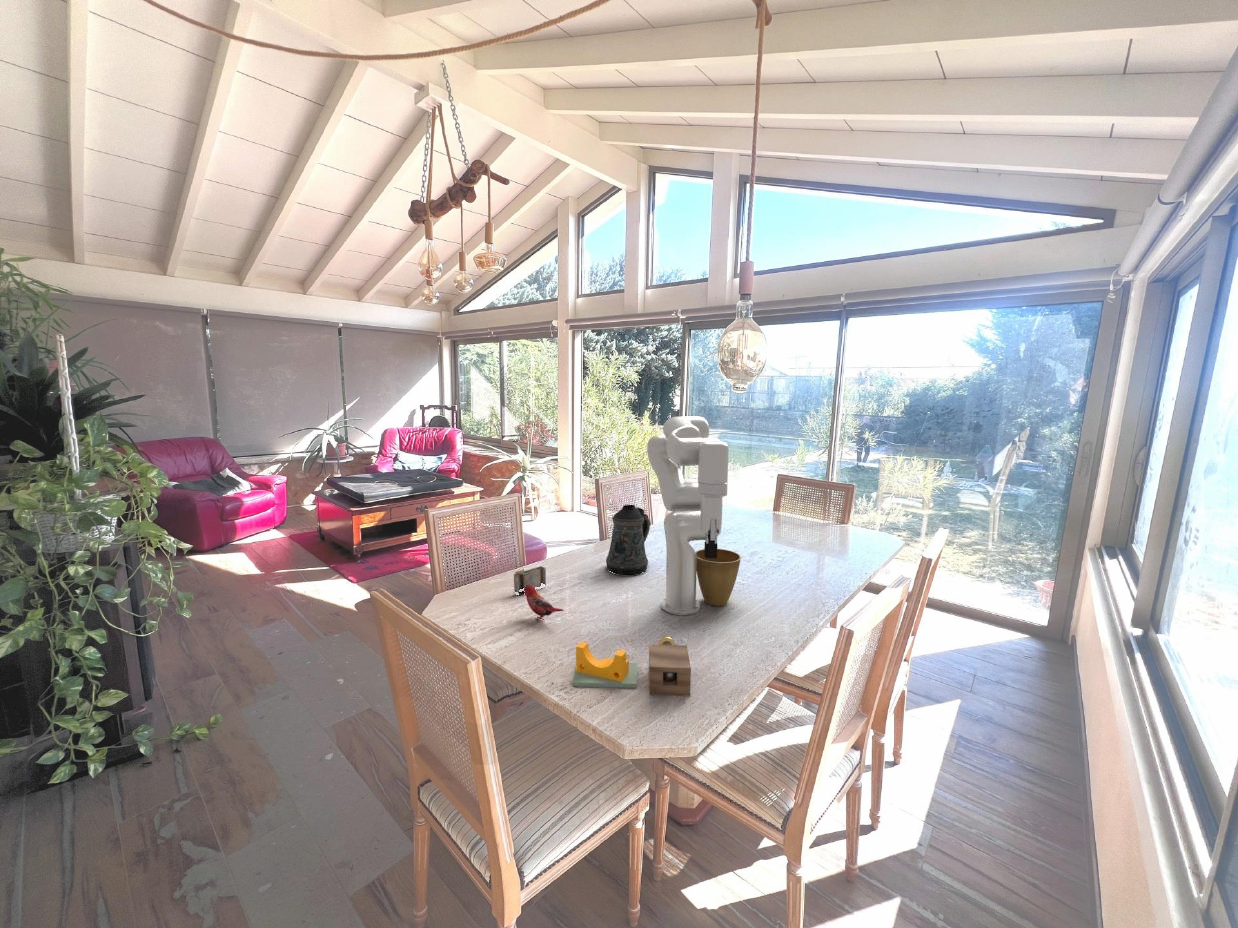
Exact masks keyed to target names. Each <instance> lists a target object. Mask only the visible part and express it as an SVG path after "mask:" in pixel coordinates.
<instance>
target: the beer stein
mask: <svg viewBox="0 0 1238 928" xmlns="http://www.w3.org/2000/svg"><path fill="white" fill-rule="evenodd" d="M611 519H612V523H613V527H612V536H611V541H610V546H609V551H608V554H607V557H606V558H605V563H606V567H607V568H608V569H607V571H608V570H609V571H611V572H613V573H615V574H614V575H616V574H619V575H618V576H620V575H633V576H637V575H636V574H639V575H641V573H642V572H644V573H645V572H647V570H648V565H649V560H648V557H647V554H646V548H645V542H646V540H647V538H648V535H649V532H650V529H651V522H650V518H649V515H647V514H646V513H645V509H643V508H641V507H639V506H638V507H636V506H635V504H626V505H625V504H624V505H623V506H622V507H621V509H620V510H619V511H617V512H616V513H615V514H614V515H613V516H612V518H611ZM646 569H647V570H646ZM609 571H608V572H609ZM611 572H610V573H611ZM642 574H643V573H642Z"/></svg>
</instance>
